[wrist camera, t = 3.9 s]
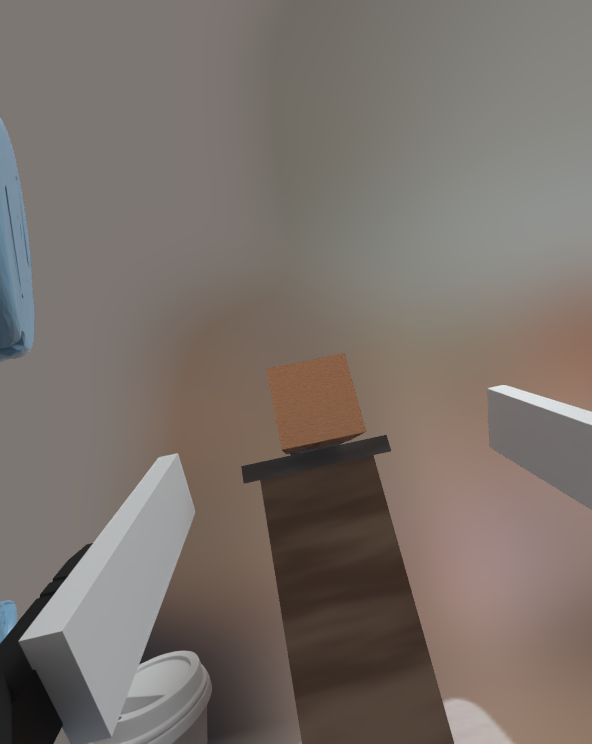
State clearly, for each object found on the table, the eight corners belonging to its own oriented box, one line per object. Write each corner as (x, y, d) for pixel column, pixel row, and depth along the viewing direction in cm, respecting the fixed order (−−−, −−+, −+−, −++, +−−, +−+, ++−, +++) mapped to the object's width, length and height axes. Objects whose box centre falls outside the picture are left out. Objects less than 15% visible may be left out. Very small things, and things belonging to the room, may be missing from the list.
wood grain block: (366, 431, 13) (344, 353, 15) (281, 449, 13) (266, 368, 14) (324, 453, 35) (317, 421, 37) (292, 460, 35) (286, 427, 36)
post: (641, 1171, 12) (403, 430, 21) (326, 1288, 11) (224, 469, 20) (447, 771, 27) (359, 445, 36) (310, 810, 26) (256, 468, 35)
